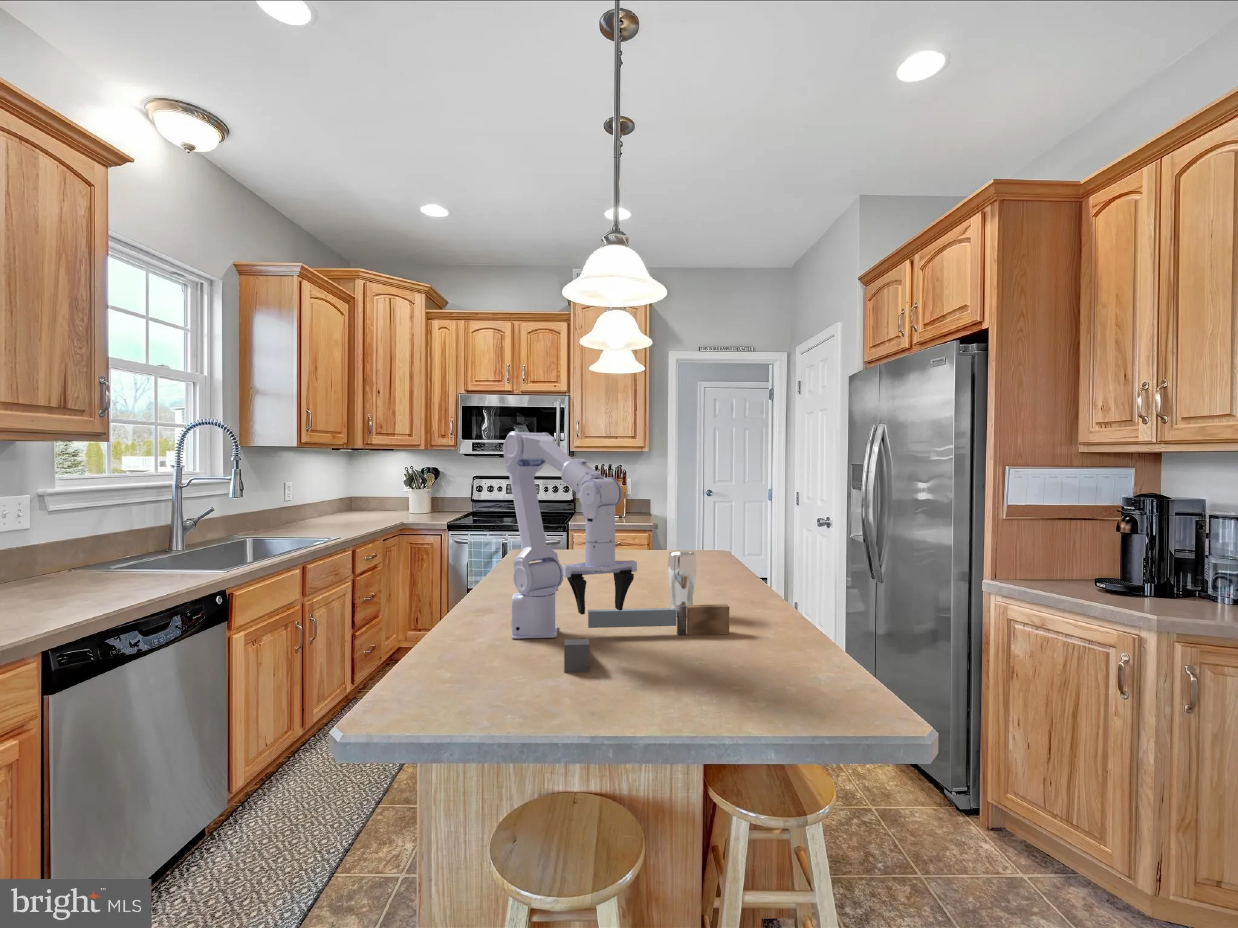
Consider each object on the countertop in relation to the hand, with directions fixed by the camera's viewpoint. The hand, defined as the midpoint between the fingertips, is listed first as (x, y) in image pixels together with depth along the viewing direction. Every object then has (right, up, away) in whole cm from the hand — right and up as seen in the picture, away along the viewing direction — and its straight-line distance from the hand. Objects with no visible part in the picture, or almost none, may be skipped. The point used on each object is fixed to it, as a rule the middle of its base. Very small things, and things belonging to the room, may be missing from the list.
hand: (600, 611), depth 111 cm
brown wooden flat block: (+22, -9, +15) cm, 28 cm away
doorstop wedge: (-4, -9, -3) cm, 10 cm away
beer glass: (+19, -9, +29) cm, 36 cm away
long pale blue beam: (+6, -7, +13) cm, 16 cm away
